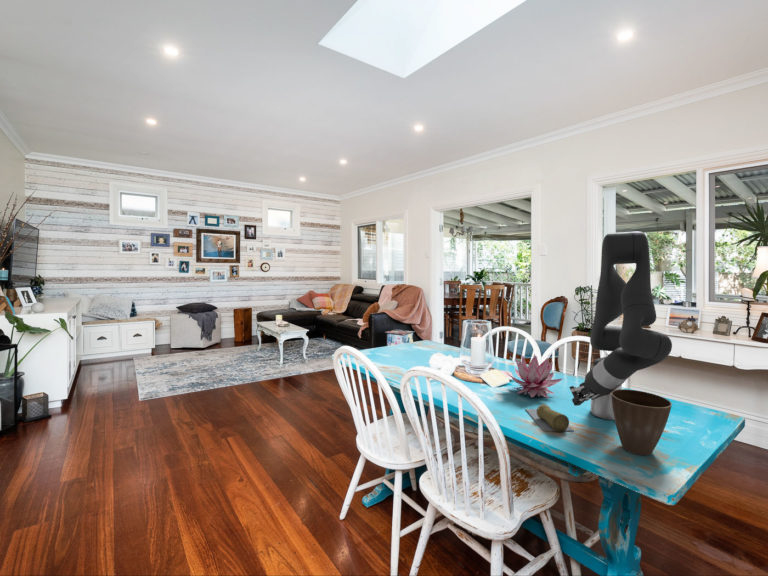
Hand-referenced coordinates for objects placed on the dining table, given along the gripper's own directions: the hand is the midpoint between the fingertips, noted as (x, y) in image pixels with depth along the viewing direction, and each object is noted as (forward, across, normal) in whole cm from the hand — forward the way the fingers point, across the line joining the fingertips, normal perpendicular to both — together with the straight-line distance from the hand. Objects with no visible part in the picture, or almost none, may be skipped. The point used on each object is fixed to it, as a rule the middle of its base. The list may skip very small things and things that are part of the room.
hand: (575, 402), depth 117 cm
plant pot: (+4, -16, +14) cm, 22 cm away
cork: (+11, 0, +2) cm, 11 cm away
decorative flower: (+38, -11, -20) cm, 45 cm away
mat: (+20, -2, -2) cm, 20 cm away
